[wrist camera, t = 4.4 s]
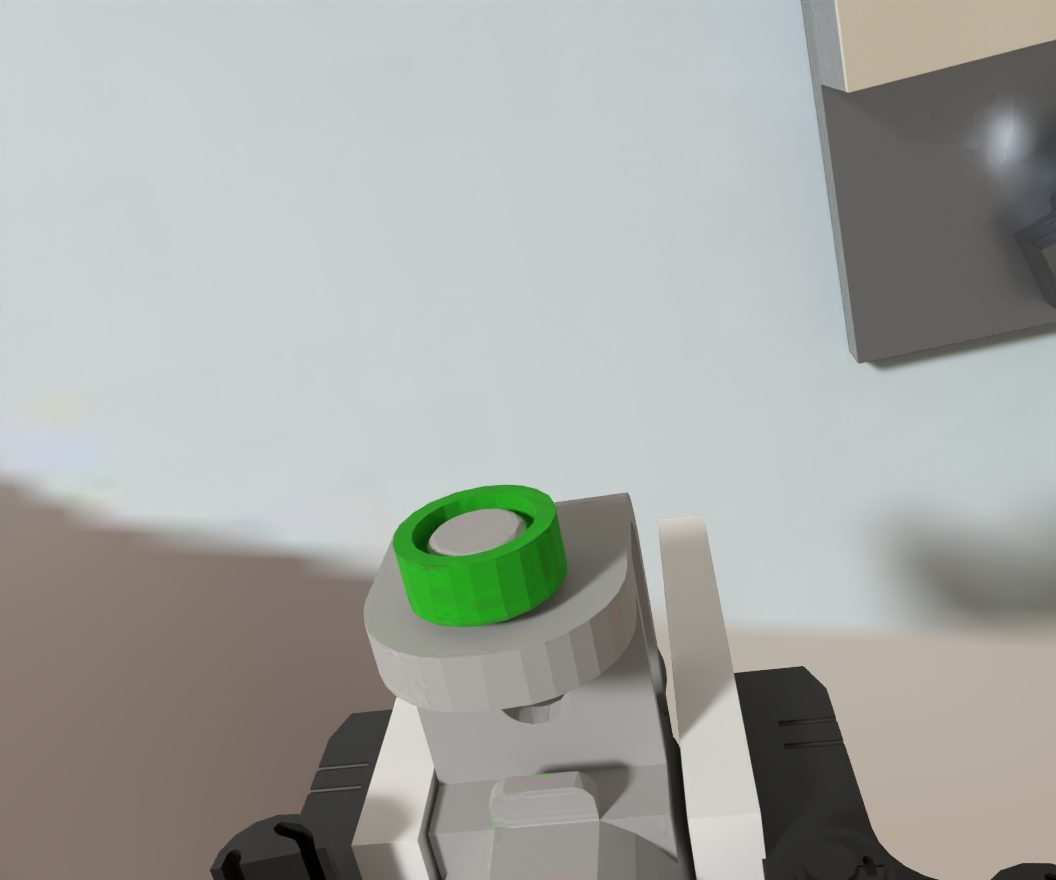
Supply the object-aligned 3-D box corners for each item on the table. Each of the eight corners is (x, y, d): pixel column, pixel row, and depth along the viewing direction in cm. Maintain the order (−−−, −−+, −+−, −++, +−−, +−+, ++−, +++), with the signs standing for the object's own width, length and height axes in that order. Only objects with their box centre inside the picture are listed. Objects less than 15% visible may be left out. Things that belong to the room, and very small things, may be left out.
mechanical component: (623, 270, 17) (631, 557, 8) (696, 728, 21) (758, 1277, 12) (461, 299, 18) (293, 601, 8) (562, 742, 21) (522, 1280, 12)
